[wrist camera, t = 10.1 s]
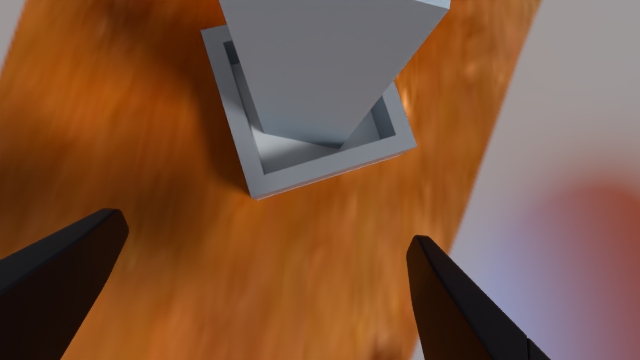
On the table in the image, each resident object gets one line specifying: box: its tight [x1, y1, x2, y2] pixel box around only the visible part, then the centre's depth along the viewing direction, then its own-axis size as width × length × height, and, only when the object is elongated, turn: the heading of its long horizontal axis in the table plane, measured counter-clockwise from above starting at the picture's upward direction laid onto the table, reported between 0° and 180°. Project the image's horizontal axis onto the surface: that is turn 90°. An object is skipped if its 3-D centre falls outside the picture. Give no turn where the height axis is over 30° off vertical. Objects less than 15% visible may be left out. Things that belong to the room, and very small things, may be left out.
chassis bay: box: [200, 25, 417, 200], centre depth 18 cm, size 10×10×3 cm
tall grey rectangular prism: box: [219, 0, 450, 149], centre depth 12 cm, size 5×5×14 cm
